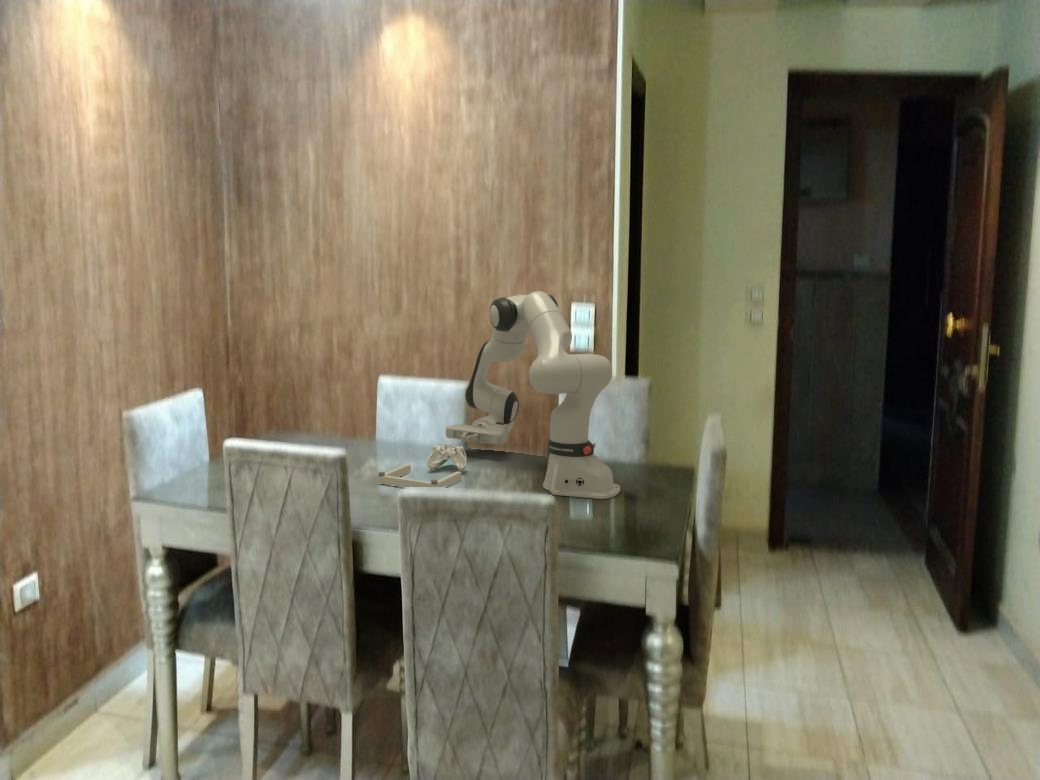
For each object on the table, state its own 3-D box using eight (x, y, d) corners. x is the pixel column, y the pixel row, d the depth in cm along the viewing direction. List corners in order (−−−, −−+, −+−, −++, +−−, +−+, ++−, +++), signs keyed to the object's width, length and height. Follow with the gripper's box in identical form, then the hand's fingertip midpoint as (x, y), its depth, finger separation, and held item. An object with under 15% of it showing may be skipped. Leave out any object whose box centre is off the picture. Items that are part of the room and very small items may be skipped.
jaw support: (473, 455, 286) (469, 440, 278) (469, 480, 281) (465, 465, 273) (435, 454, 287) (430, 438, 279) (431, 478, 282) (426, 463, 274)
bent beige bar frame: (461, 480, 268) (461, 469, 268) (435, 493, 254) (435, 482, 254) (405, 471, 276) (405, 461, 276) (377, 484, 262) (377, 473, 262)
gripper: (457, 418, 306) (436, 425, 293) (511, 425, 297) (493, 433, 285) (456, 436, 307) (436, 444, 294) (511, 443, 299) (492, 452, 286)
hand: (464, 439), depth 290 cm, fingers closed
